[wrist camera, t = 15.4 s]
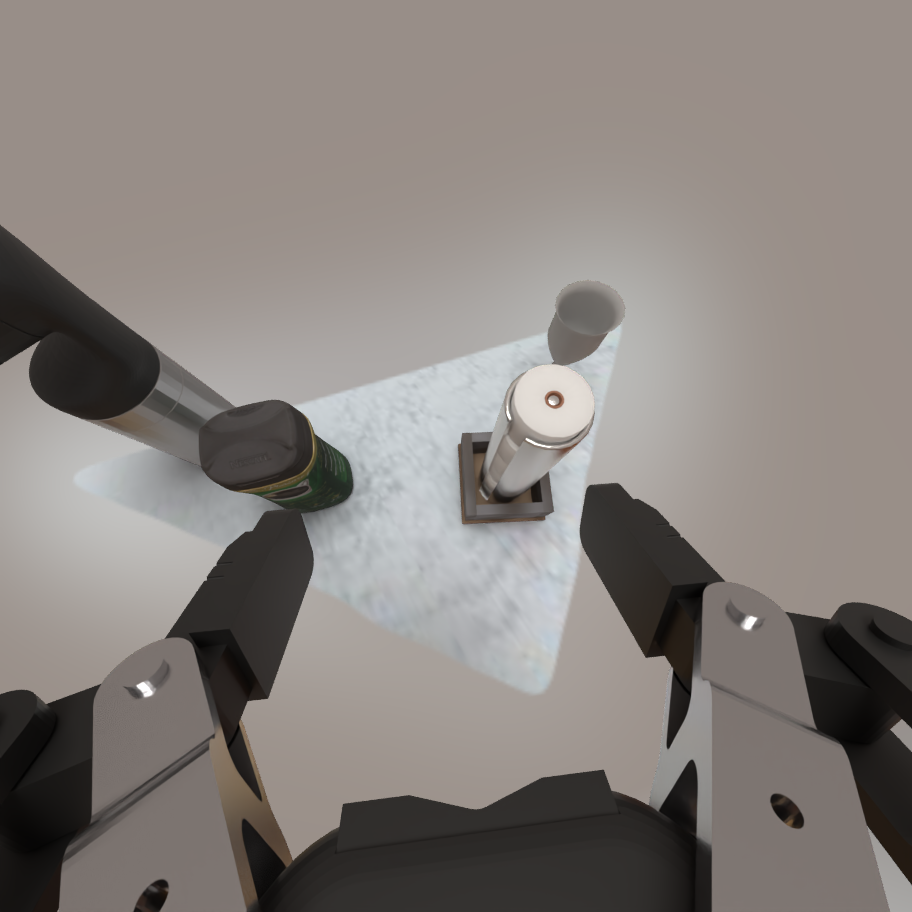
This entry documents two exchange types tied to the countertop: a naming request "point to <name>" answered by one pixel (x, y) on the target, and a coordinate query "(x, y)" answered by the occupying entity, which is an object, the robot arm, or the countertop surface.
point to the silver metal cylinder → (535, 430)
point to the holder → (482, 511)
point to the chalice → (583, 320)
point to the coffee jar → (274, 457)
